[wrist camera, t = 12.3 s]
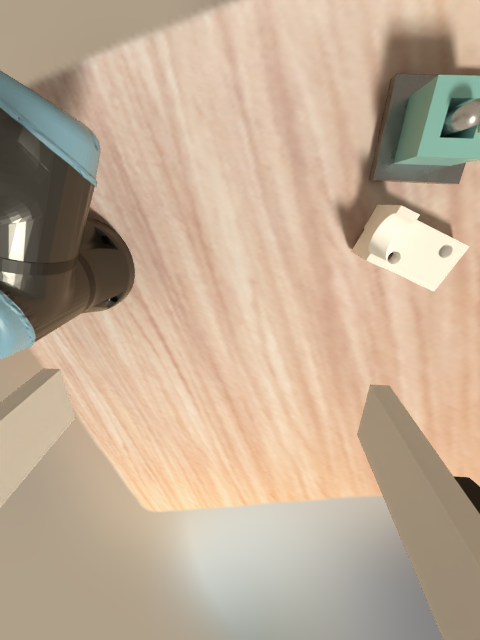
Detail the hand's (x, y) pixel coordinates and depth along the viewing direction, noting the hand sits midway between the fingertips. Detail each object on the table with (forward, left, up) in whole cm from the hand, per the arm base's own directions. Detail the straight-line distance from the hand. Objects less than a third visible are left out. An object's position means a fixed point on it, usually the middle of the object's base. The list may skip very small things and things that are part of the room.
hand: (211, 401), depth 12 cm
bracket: (+23, +3, -35) cm, 41 cm away
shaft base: (+21, +17, -34) cm, 44 cm away
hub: (+22, +17, -33) cm, 43 cm away
